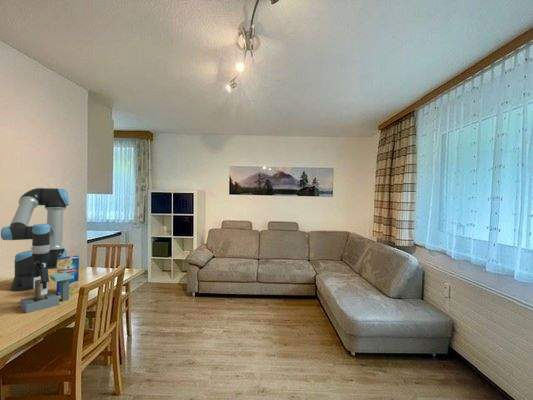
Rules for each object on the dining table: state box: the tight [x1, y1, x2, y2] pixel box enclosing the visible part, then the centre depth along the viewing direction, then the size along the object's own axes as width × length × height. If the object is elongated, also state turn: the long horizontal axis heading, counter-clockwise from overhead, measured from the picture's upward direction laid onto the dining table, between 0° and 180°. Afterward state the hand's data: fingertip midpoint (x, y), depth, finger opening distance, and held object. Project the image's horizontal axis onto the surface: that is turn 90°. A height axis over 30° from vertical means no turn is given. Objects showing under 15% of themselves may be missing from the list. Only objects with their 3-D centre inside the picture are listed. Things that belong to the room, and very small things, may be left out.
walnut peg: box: [34, 278, 45, 302], centre depth 150 cm, size 4×4×14 cm
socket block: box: [19, 292, 60, 314], centre depth 150 cm, size 12×14×4 cm
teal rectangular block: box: [49, 272, 71, 302], centre depth 158 cm, size 9×8×15 cm
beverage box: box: [55, 255, 80, 297], centre depth 170 cm, size 7×11×22 cm, turn 126°
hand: (40, 291), depth 150 cm, fingers open, 12 cm apart
